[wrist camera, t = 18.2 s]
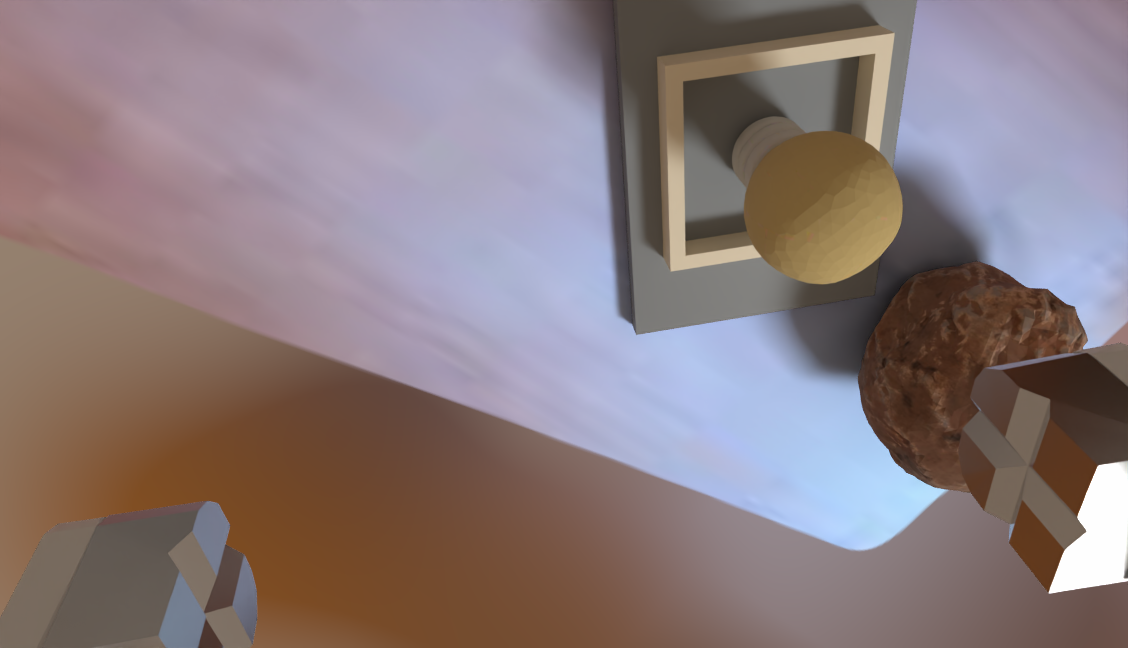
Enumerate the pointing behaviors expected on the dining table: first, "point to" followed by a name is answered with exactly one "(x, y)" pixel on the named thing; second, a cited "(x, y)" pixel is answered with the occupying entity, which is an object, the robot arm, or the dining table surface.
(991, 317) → the decorative rock
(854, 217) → the light bulb
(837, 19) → the board
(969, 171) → the dining table surface
